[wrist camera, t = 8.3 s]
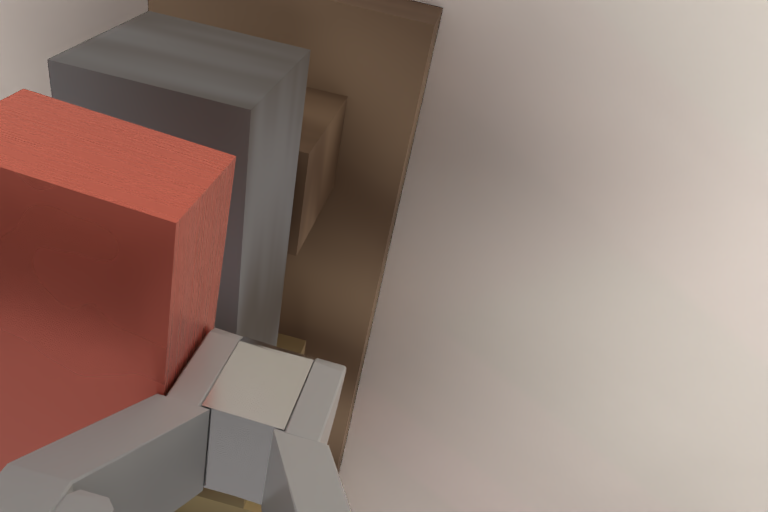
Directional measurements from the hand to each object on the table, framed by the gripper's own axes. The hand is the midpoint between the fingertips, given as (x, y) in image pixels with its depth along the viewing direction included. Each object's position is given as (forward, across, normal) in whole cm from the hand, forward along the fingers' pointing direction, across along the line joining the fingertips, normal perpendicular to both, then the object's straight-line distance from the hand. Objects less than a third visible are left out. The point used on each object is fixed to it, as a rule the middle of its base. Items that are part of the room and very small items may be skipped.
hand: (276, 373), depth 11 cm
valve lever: (0, +3, +4) cm, 5 cm away
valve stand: (+12, +3, +10) cm, 16 cm away
